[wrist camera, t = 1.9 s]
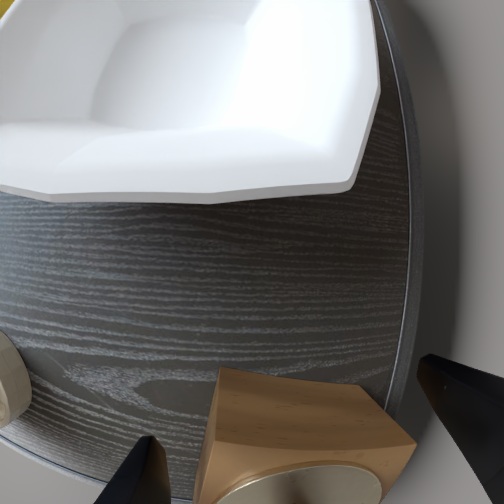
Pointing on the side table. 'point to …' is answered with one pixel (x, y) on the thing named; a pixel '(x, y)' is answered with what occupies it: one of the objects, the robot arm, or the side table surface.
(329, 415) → the stand
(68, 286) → the side table surface
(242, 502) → the lid
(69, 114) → the bowl
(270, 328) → the side table surface
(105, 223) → the side table surface
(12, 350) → the pot
